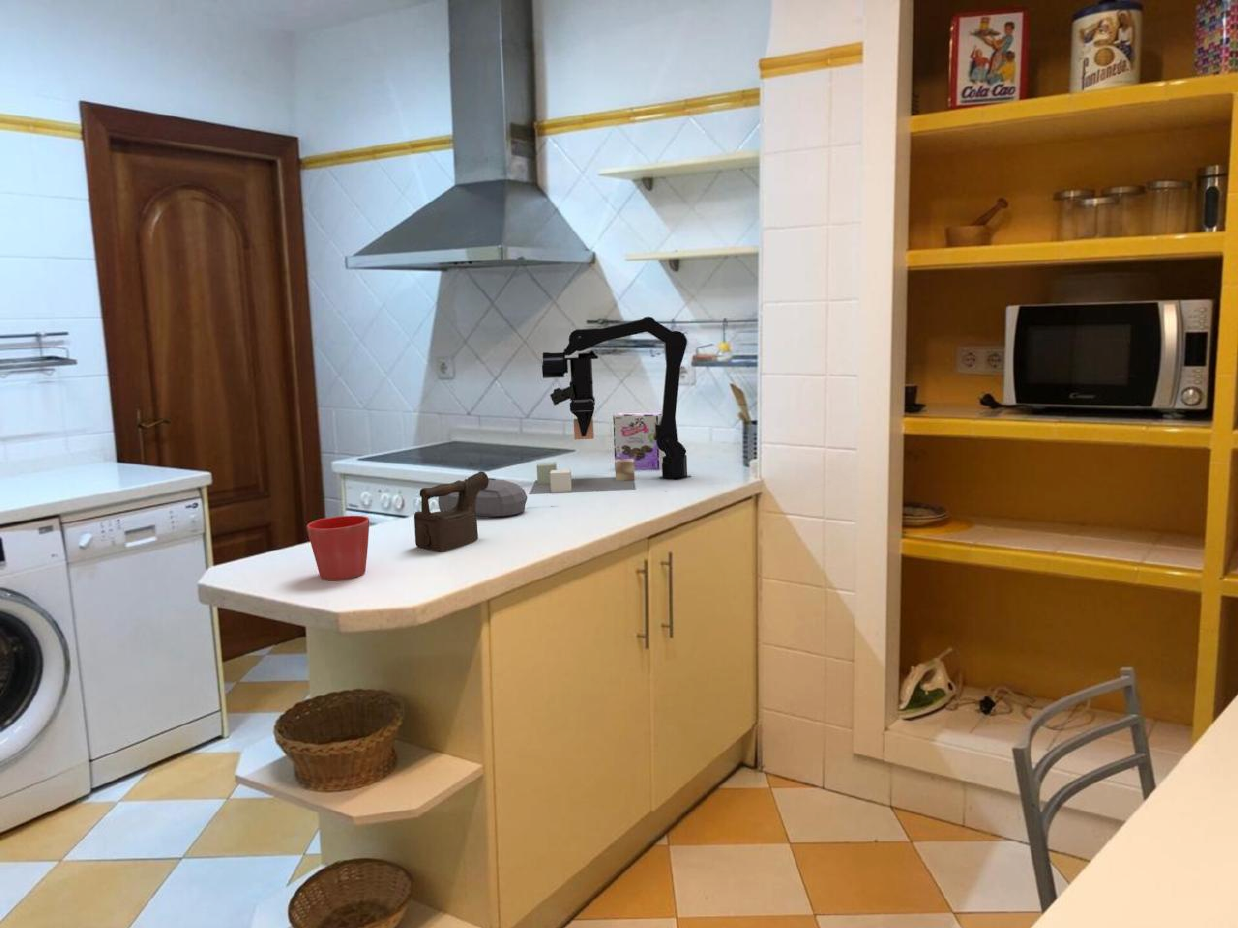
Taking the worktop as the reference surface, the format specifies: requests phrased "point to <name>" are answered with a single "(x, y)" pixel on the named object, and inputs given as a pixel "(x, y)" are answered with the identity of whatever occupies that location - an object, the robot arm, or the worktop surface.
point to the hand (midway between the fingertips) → (584, 434)
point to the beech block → (624, 470)
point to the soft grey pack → (492, 499)
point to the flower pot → (340, 546)
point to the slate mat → (588, 485)
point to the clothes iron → (449, 515)
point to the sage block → (545, 472)
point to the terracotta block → (578, 433)
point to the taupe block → (560, 480)
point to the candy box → (637, 439)
